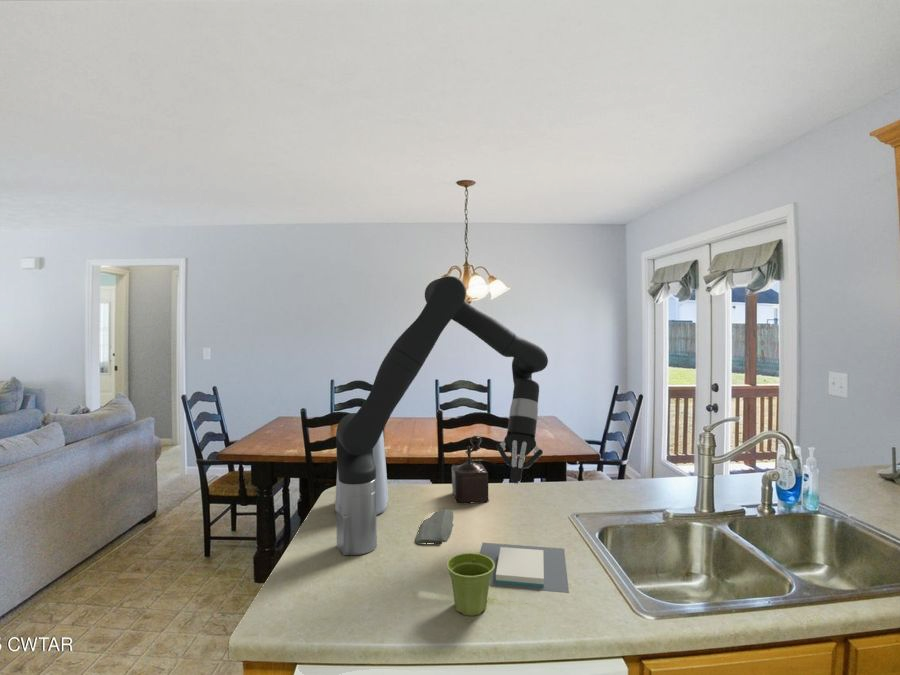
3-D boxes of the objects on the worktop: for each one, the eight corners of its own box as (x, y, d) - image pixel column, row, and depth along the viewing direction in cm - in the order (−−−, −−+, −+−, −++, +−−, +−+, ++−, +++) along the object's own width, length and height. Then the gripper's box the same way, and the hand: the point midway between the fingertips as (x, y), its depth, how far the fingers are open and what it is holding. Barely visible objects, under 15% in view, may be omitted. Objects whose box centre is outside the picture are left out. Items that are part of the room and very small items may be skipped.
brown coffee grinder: (491, 502, 153) (491, 445, 153) (456, 504, 152) (456, 446, 151) (480, 486, 169) (480, 434, 168) (449, 488, 167) (448, 435, 167)
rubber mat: (568, 596, 100) (568, 592, 100) (471, 587, 103) (471, 583, 103) (564, 551, 120) (564, 548, 119) (482, 545, 123) (482, 542, 123)
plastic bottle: (389, 498, 157) (388, 411, 156) (384, 516, 142) (383, 420, 141) (342, 499, 157) (341, 412, 156) (332, 517, 142) (331, 421, 141)
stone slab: (414, 551, 124) (453, 546, 124) (413, 540, 124) (452, 535, 124) (422, 517, 146) (456, 513, 146) (421, 508, 146) (454, 504, 146)
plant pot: (498, 620, 92) (498, 574, 92) (448, 623, 91) (448, 577, 91) (490, 593, 101) (490, 551, 101) (445, 595, 101) (444, 553, 100)
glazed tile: (543, 557, 115) (543, 587, 102) (500, 554, 117) (495, 582, 104) (543, 550, 115) (543, 578, 102) (500, 547, 117) (495, 574, 104)
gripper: (497, 411, 131) (488, 477, 125) (547, 418, 129) (540, 485, 123) (499, 417, 138) (491, 480, 132) (547, 424, 135) (540, 488, 129)
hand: (515, 483), depth 127 cm, fingers closed
